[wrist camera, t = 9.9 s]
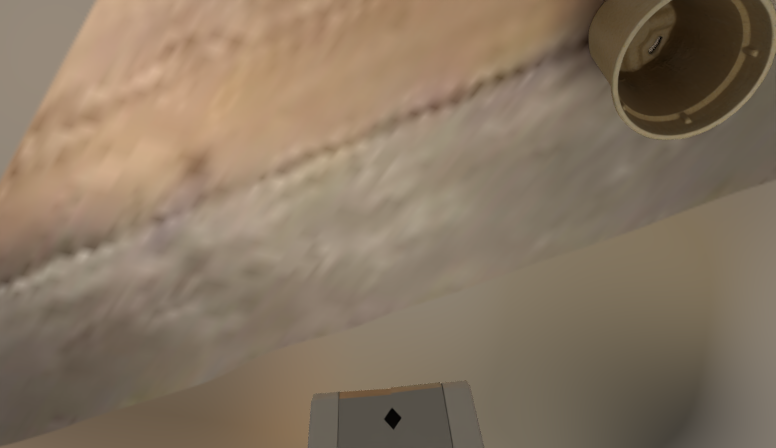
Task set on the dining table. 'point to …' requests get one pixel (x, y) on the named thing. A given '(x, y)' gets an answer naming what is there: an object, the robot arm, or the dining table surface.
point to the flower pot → (682, 60)
